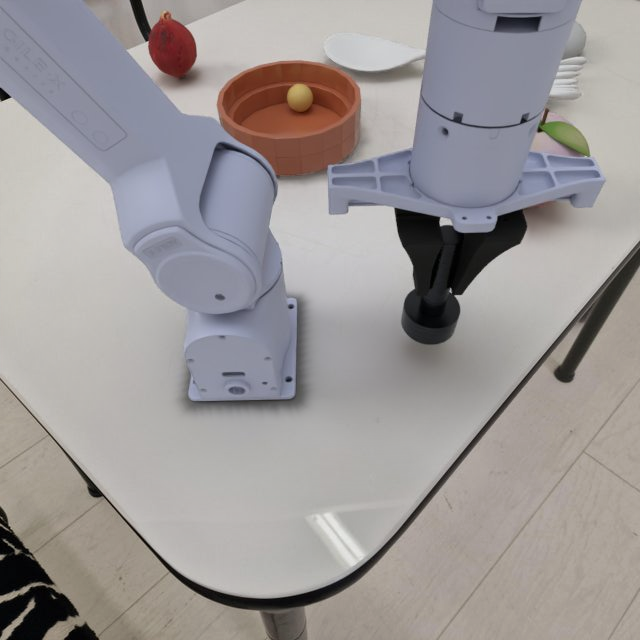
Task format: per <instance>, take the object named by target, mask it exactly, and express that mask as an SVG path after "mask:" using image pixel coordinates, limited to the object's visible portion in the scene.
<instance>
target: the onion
mask: <svg viewBox="0 0 640 640" xmlns="http://www.w3.org/2000/svg"><path fill="white" fill-rule="evenodd" d="M147 43H148V44H147V45H148V46H147V48H148V49H147V50H148V55H149V57H150V59H151V61H152V62H153V64H154V65H155V66H156V68H157V69H158V70H159V71H161V72H162V73H163V74H166V75H167V76H170V77H173V78H175V79H179V80H180V79H183V78H184V77H185V76H186V74H188V73H189V71H191V69H192V68H193V66H194V65H195V63H196V61H197V56H198V53H197V51H198V50H197V43H196V40H195V37H194V35H193V34H192V32H191V31H190V30H189V29H188V28H187V27H186V26H185V25H184V24H182V23H181V22H180V21H178V20H176V19H173V18H172V13H171V12H170V11H168V10H166V9H165V10H163V11H161V13H160V16H159V20H158V21H157V22H156V23H155V24H154V26H153V27H152V28H151V30H150V32H149V35H148V42H147Z"/></svg>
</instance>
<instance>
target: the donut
mask: <svg viewBox="0 0 640 640" xmlns="http://www.w3.org/2000/svg"><path fill="white" fill-rule="evenodd" d="M586 42H587V32H586V31H585V29H584V27H583V26H582V24H581V23H580V22H578V21H577V20H575V22H574V25H573V28H572V31H571V34H570V37H569V40H568V42H567V45H566V48H565V51H564V54H563V57H562V60H564V59H569V58H573V57H579V55H580V54H581V53H582V52H583V51H584V49H585V47H586V44H587V43H586Z"/></svg>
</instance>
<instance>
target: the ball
mask: <svg viewBox="0 0 640 640" xmlns="http://www.w3.org/2000/svg"><path fill="white" fill-rule="evenodd" d="M287 101H288V104H289V106H290V107H291V108H292V109H293V110H295V111H297V112H303V111H306V110H307V109H309V108H310V106H311V104H312V101H313V95H312V92H311V90H310V88H309V87H308V86H306V85H304V84H296V85H294V86H292V87H291V88H290V89H289V91H288V94H287Z"/></svg>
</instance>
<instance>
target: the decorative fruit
mask: <svg viewBox="0 0 640 640" xmlns="http://www.w3.org/2000/svg"><path fill="white" fill-rule="evenodd" d="M530 150H533V151H538V152H544V153H550V154H556V155H563V156H571V157H591V151H590V146H589V144H588V141H587V138H585V136H584V134H583V133H582V132H581V131H580V130H579V128H577V127H576V126H575V125H574V124H573V123H572V122H571V121H570V120H568V119H567V118H565V117H563V116H561V114H558V113H554V112H551V111H550V108H548V107H545V108H544V111H543V114H542V116H541V119H540V122H539V125H538V128H537V131H536V134H535V137H534V140H533V143H532V145H531V148H530ZM556 202H557V201H547V202H543V203H540V204H537V205H533V206H530V207H529V208H536V207H537V208H538V207H545V206H547V205H551V204H553V203H556Z"/></svg>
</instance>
